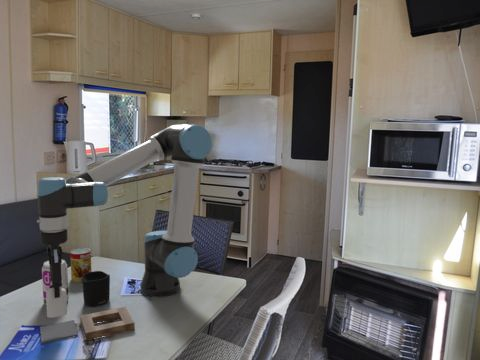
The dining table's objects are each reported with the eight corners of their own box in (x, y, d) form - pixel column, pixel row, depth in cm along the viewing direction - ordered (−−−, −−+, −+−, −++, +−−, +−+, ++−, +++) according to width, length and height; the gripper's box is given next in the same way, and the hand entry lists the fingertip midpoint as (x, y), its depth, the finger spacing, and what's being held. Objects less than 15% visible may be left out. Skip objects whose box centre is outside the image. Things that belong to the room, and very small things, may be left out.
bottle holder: (125, 313, 137) (125, 306, 137) (134, 330, 126) (134, 322, 126) (80, 322, 130) (80, 315, 130) (86, 341, 120) (85, 333, 119)
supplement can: (59, 308, 140) (57, 267, 138) (38, 306, 142) (36, 265, 140) (73, 298, 148) (71, 259, 146) (53, 296, 150) (51, 257, 148)
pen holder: (80, 308, 141) (79, 281, 139) (86, 297, 150) (85, 271, 148) (108, 307, 142) (107, 279, 141) (112, 295, 151) (111, 270, 150)
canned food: (87, 282, 164) (86, 253, 162) (68, 281, 164) (66, 253, 162) (94, 275, 171) (93, 247, 170) (76, 274, 172) (75, 247, 170)
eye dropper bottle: (52, 311, 126) (50, 274, 124) (69, 312, 125) (68, 275, 124) (44, 317, 122) (42, 279, 120) (62, 318, 121) (60, 280, 120)
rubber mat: (74, 321, 131) (74, 319, 131) (77, 335, 123) (77, 334, 122) (39, 328, 126) (39, 326, 126) (41, 343, 118) (41, 341, 118)
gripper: (38, 224, 125) (41, 296, 129) (40, 237, 111) (44, 318, 114) (64, 222, 129) (67, 291, 132) (70, 234, 115) (73, 312, 118)
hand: (56, 303), depth 123 cm, fingers closed on eye dropper bottle, 3 cm apart
